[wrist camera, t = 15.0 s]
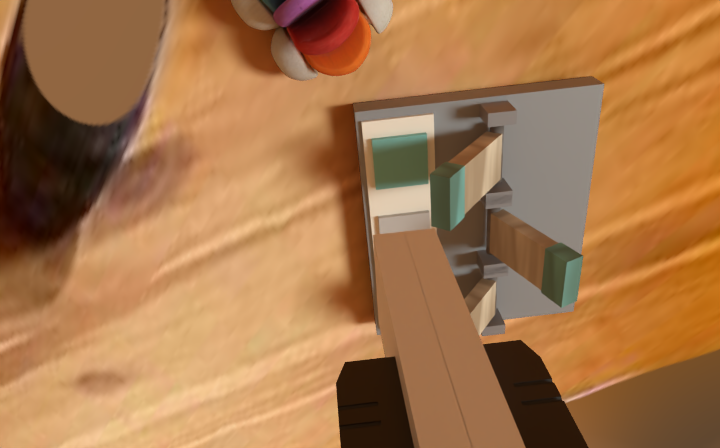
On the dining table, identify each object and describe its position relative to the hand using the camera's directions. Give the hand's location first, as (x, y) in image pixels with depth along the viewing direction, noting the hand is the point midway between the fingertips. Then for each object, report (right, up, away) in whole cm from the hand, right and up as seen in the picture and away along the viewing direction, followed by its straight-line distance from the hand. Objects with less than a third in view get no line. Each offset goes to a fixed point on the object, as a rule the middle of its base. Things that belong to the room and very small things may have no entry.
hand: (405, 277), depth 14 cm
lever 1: (+9, +6, +27) cm, 29 cm away
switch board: (+8, +2, +32) cm, 34 cm away
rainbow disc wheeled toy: (-4, +17, +23) cm, 29 cm away
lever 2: (+10, -5, +33) cm, 35 cm away
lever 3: (+9, +1, +30) cm, 31 cm away
